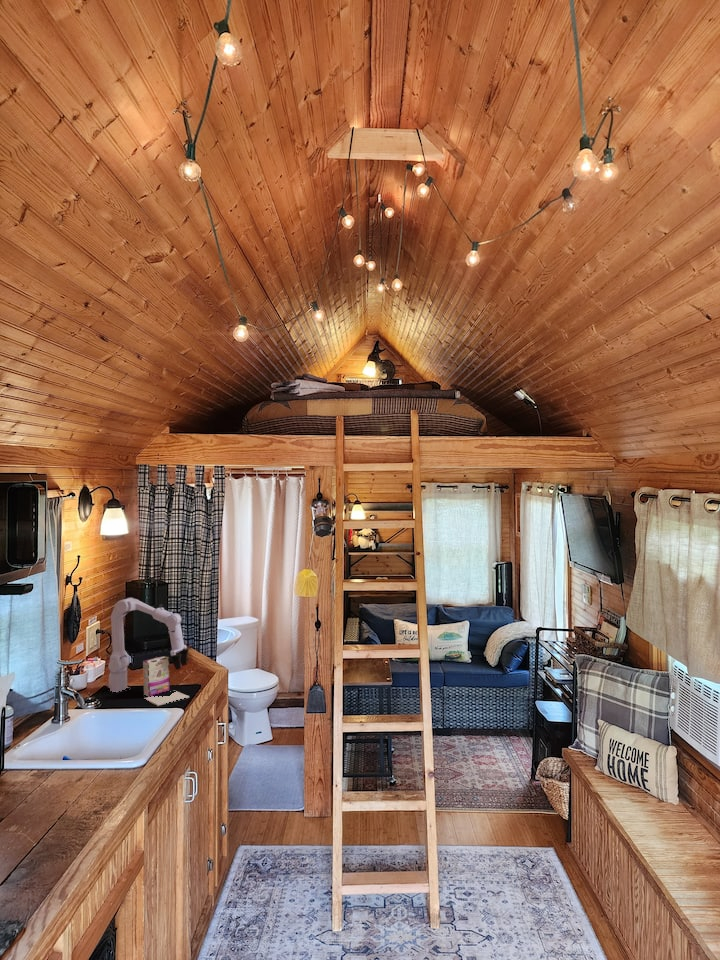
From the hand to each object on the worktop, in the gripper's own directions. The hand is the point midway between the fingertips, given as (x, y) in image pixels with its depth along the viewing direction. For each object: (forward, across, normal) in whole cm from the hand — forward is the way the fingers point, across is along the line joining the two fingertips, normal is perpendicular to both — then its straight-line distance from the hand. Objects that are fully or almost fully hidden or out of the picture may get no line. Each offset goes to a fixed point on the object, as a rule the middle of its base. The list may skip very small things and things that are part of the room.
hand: (181, 667), depth 276 cm
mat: (+10, -14, +3) cm, 18 cm away
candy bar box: (+9, -7, +11) cm, 16 cm away
